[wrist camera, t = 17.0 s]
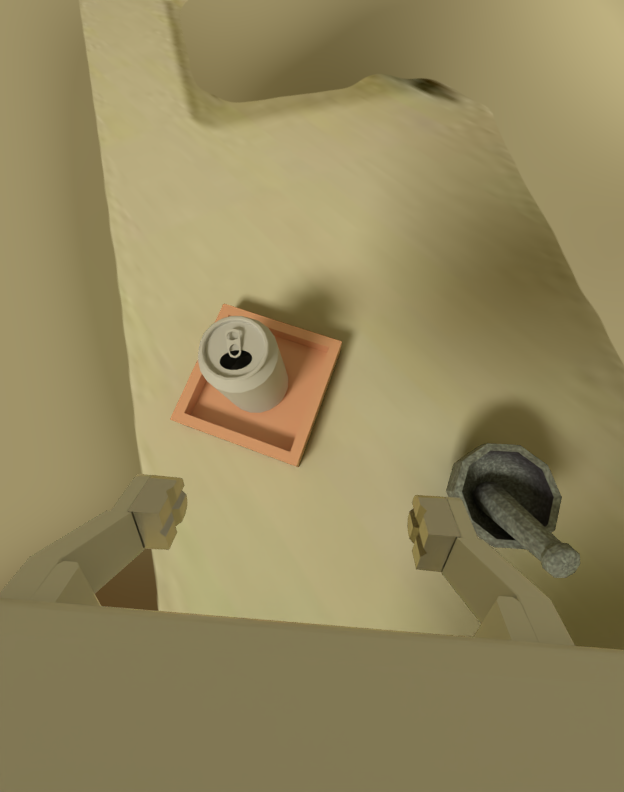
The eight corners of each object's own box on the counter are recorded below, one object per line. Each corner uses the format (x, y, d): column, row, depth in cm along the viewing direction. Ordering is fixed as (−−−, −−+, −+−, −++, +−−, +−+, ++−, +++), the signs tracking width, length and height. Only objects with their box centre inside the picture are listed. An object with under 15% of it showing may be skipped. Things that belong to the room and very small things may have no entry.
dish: (298, 467, 40) (296, 466, 37) (180, 423, 41) (169, 419, 38) (340, 350, 43) (341, 341, 40) (230, 314, 45) (223, 303, 42)
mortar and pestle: (421, 460, 39) (463, 451, 28) (497, 439, 40) (570, 422, 28) (456, 561, 37) (518, 599, 25) (537, 538, 37) (636, 565, 25)
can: (230, 418, 40) (192, 393, 29) (226, 359, 42) (188, 313, 30) (292, 409, 40) (280, 381, 29) (285, 351, 42) (271, 302, 30)
